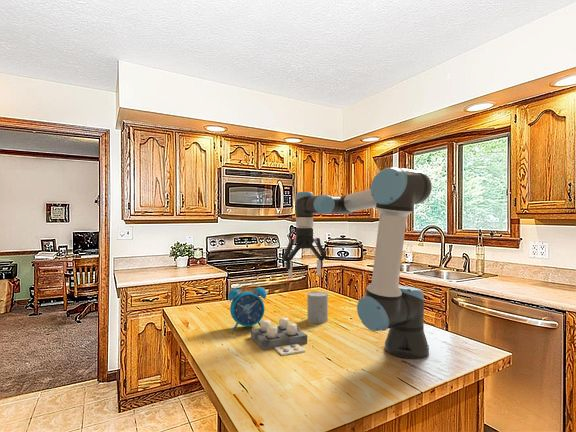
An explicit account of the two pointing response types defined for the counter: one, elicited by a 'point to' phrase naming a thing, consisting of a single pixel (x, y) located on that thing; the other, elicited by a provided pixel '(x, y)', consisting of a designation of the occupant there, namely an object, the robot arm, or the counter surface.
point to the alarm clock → (247, 306)
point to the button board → (277, 338)
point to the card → (289, 349)
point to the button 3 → (283, 323)
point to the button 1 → (264, 325)
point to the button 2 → (272, 331)
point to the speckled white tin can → (317, 307)
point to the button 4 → (291, 329)
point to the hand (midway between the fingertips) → (304, 275)
